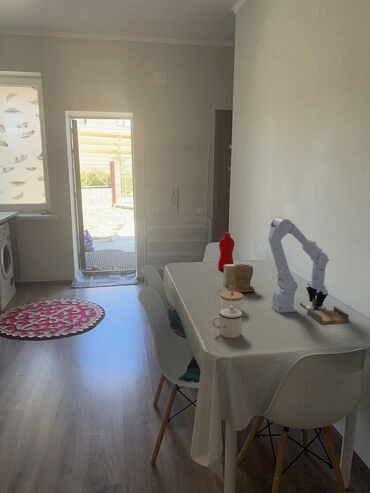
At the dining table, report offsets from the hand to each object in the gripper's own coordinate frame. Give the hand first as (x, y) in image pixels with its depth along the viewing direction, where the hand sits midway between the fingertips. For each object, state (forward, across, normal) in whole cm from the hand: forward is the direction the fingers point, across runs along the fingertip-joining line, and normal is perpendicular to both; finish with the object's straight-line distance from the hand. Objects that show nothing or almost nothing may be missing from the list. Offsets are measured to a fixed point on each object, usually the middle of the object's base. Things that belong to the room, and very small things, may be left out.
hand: (315, 303), depth 178 cm
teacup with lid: (+2, -20, +51) cm, 55 cm away
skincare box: (+2, +41, +30) cm, 51 cm away
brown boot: (+2, +31, +27) cm, 41 cm away
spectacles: (+2, +2, 0) cm, 3 cm away
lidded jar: (+2, +4, +41) cm, 41 cm away
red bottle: (+2, +75, +21) cm, 78 cm away
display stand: (+2, -12, +1) cm, 12 cm away
